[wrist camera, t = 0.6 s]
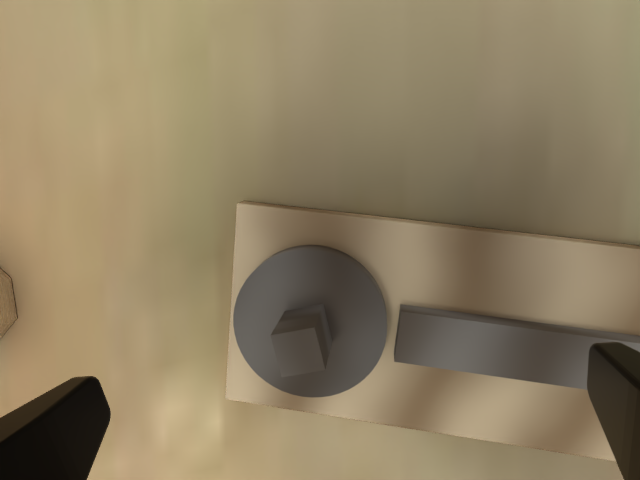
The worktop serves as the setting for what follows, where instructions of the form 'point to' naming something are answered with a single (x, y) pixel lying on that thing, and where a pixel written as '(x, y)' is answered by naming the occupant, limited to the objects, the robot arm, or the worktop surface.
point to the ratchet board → (427, 324)
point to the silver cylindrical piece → (6, 303)
